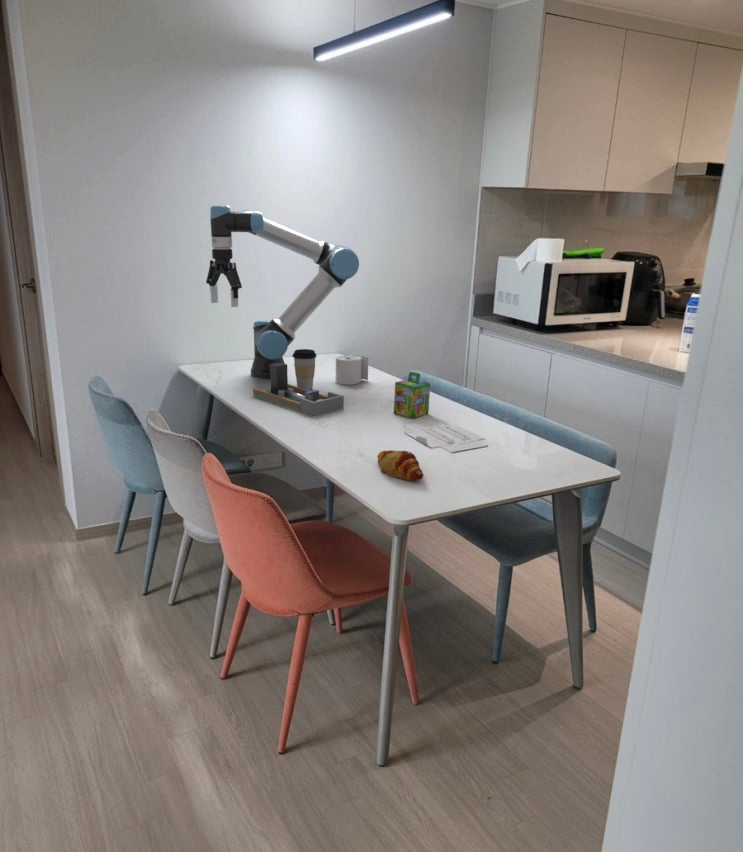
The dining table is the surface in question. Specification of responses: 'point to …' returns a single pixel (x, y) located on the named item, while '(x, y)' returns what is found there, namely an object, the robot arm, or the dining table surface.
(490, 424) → the dining table surface
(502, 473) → the dining table surface
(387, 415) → the dining table surface
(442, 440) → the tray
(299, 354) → the coffee cup
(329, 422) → the dining table surface
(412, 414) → the chalk box
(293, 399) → the lane
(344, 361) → the toilet tissue
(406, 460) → the croissant
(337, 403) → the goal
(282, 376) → the striker rod
